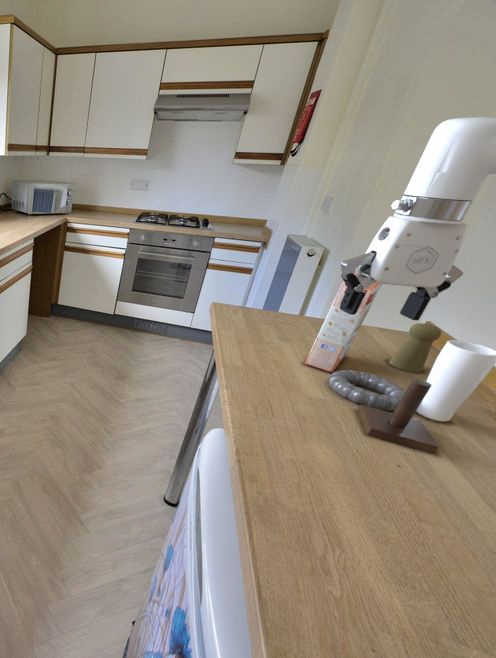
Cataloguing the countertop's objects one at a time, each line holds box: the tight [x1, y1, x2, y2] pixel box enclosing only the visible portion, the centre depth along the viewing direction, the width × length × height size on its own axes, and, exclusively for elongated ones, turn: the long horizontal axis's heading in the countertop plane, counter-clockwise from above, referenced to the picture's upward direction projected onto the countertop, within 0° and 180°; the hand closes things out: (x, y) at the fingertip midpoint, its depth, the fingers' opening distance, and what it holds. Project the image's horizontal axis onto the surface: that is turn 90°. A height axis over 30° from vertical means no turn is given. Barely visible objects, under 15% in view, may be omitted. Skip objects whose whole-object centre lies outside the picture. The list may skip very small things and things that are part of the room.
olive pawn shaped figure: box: [388, 322, 442, 374], centre depth 98 cm, size 6×6×11 cm
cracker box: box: [304, 272, 383, 374], centre depth 96 cm, size 14×6×21 cm, turn 131°
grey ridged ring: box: [327, 369, 406, 412], centre depth 86 cm, size 13×13×3 cm
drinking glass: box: [415, 339, 496, 423], centre depth 78 cm, size 7×7×15 cm
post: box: [357, 378, 439, 454], centre depth 74 cm, size 9×9×10 cm
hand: (377, 314), depth 70 cm, fingers open, 9 cm apart
